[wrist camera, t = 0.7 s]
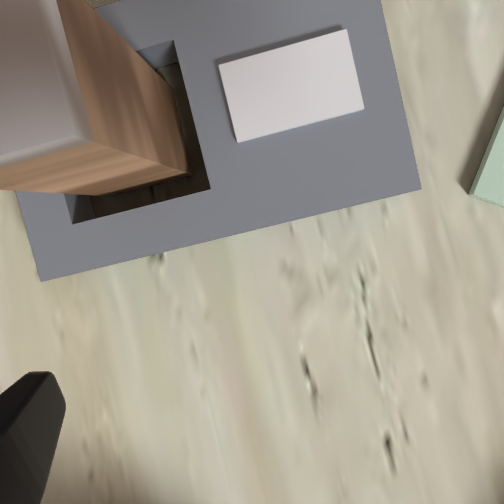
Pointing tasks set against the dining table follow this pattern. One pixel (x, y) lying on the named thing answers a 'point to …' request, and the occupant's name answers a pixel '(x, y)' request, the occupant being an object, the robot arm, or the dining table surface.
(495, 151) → the mat
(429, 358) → the dining table surface
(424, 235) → the dining table surface
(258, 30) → the socket block
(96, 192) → the plug
